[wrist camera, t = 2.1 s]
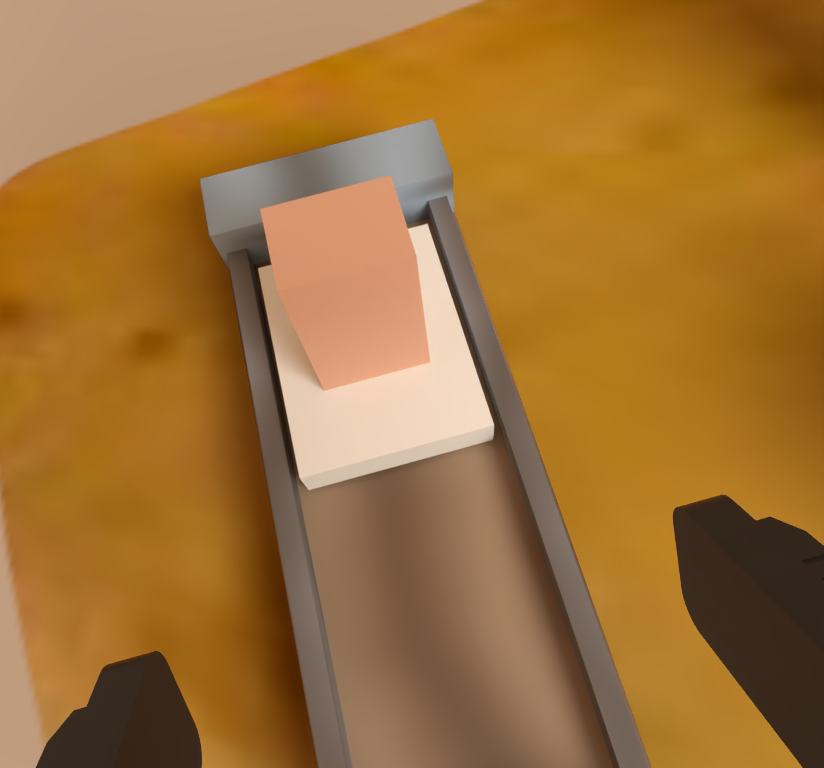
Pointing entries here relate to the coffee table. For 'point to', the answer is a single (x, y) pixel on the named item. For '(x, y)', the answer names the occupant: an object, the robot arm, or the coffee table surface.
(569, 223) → the coffee table surface
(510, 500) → the rail
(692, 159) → the coffee table surface
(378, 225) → the carriage
